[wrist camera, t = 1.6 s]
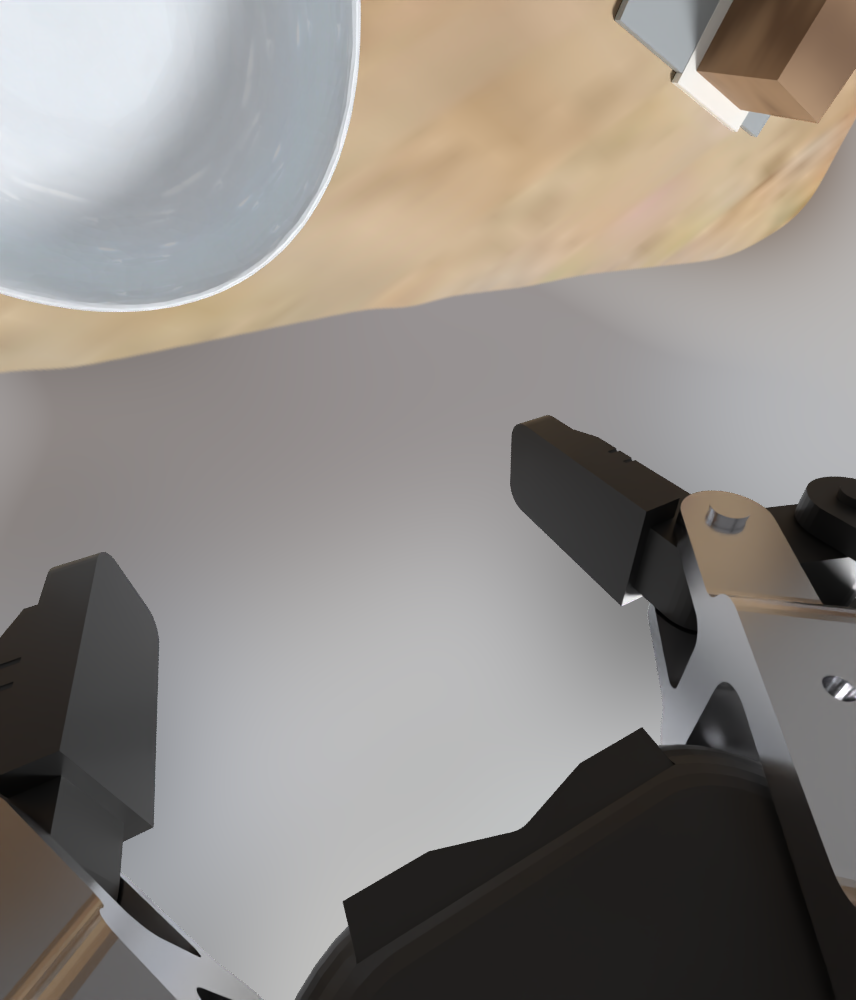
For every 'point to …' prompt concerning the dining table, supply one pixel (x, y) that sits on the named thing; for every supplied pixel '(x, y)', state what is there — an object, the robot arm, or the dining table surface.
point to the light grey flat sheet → (687, 50)
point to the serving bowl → (164, 142)
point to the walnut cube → (783, 55)
